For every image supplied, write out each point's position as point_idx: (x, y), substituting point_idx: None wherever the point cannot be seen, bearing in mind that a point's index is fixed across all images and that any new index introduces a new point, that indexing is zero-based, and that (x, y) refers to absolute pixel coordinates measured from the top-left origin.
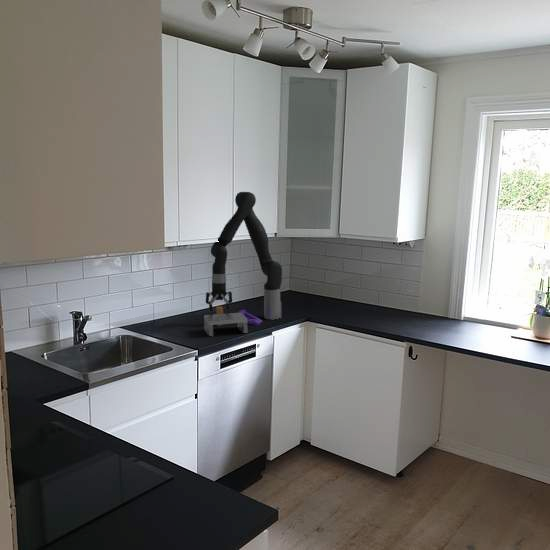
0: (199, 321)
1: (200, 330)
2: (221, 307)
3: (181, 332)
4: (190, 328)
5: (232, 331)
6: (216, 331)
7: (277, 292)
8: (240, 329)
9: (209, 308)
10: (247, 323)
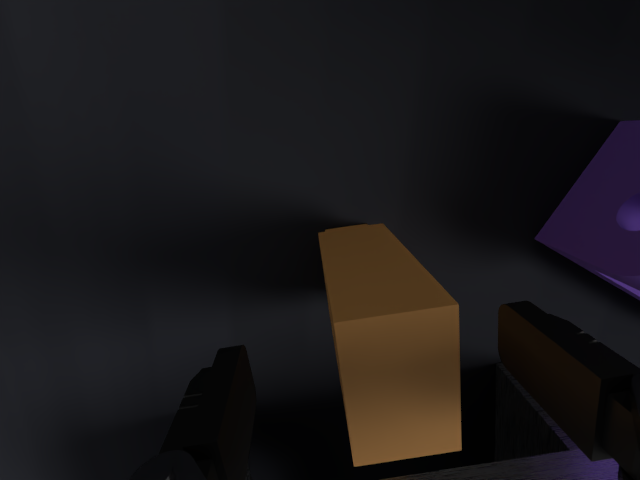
0: (110, 51)
1: (165, 417)
2: (437, 424)
3: (2, 455)
4: (58, 346)
5: (427, 468)
6: (302, 457)
7: None
8: (498, 458)
9: (192, 403)
10: (621, 288)
